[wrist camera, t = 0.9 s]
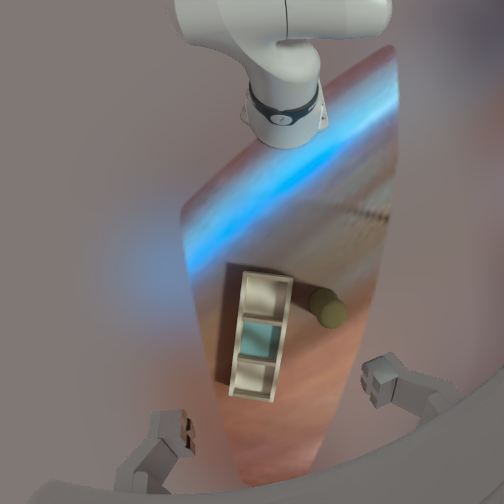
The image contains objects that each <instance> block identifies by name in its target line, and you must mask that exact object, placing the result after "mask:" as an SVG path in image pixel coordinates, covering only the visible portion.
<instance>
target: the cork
mask: <svg viewBox="0 0 504 504" xmlns="http://www.w3.org/2000/svg"><path fill="white" fill-rule="evenodd" d="M309 308H310V310H311V312H312V313H313V314H314V315H315V316H316V317H317V319H318V322H319V323H320V324H321V325H322V326H324V327H325V328H330V329H332V328H337V327H339V326H340V325H341V324H343V322H344V321H345V319H346V316H347V309H346V306H345V304H344V303H343V302H342V301H341V300H339V299H338V297H337V295H336V294H335V292H334V291H332V290H331V289H327V288H320V289H318V290H316V291H315V292H314V293H313V294H312V295H311V297H310V299H309Z"/></svg>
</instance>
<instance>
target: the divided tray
mask: <svg viewBox="0 0 504 504" xmlns="http://www.w3.org/2000/svg"><path fill="white" fill-rule="evenodd" d="M292 286H293V276H285V275H277V274H269V273H261V272H254V271H244V272H243V278H242V286H241V295H240V303H239V311H238V320H237V328H236V337H235V345H234V354H233V362H232V371H231V380H230V388H229V396H233V397H239V398H245V399H251V400H258V401H265V402H273V401H274V395H275V390H276V385H277V379H278V374H279V368H280V363H281V357H282V351H283V345H284V339H285V333H286V326H287V320H288V313H289V307H290V300H291V293H292Z"/></svg>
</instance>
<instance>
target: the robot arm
mask: <svg viewBox="0 0 504 504" xmlns="http://www.w3.org/2000/svg"><path fill="white" fill-rule="evenodd" d="M166 15H167V19H168V22H169V25H170V27H171V28H172V30H173V31H174V32H175V34H176V35H177V36H178V37H179V38H181V39H182V40H183V41H185V42H187V43H188V44H190V45H194V46H201V47H206V48H210V49H214V50H217V51H220V52H222V53H224V54H226V55H228V56H230V57H232V58H234V59H235V60H237V61H238V62H239V63H241V64H242V65H243V66H244V67H245V69H246V72H247V74H248V77H249V89H247V91H246V95H247V96H248V97H247V99H245V104H244V106H243V109H242V111H241V114H240V117H241V120H242V121H243V122H245V123H246V124H248V125H249V126H250V127H251V128H252V130H253V132H254V133H255V135H256V136H257V137H258V138H259V139H260V140H261V141H262V142H264V143H265V144H267V145H269V146H271V147H275V148H279V149H292V148H296V147H299V146H302V145H304V144H305V143H307V142H308V141H309V140H310V139H311V138H312V137H313V136H314V135H315V134H316V133H317V132H320V131H322V130H325V129H326V128H327V127H328V124H329V122H328V117H327V112H326V107H325V102H324V97H323V93H322V88H321V84H320V80H319V71H320V58H319V55H318V53H317V51H316V50H315V48H314V47H313V46H312V45H311V44H310V43H309V42H308V41H307V40H306V39H336V40H344V39H356V38H367V37H376V36H378V35H379V34H380V33H382V32H383V31H384V29H385V28H386V27H387V25H388V23H389V22H390V19H391V15H392V2H391V0H167V4H166ZM322 118H323V120H322ZM362 371H363V374H362V375H361V385H362V387H363V390H364V391H365V393H366V394H369V395H370V401H371V402H372V404H373V405H374V407H375V408H376V409H377V408H379V407H382V406H384V405H386V404H389V403H391V402H392V403H393V404H394V405H396V406H398V407H401V408H403V409H405V410H407V411H409V412H411V413H413V414H415V415H417V416H419V417H420V419H419V422H418V424H417V427H416V428H417V429H416V430H414V431H412V432H410V433H408V434H407V435H404V436H403V437H401V438H399V439H397V440H395V441H393V442H391V443H389V444H387V445H385V446H383V447H381V448H378V449H376V450H374V451H372V452H369V453H367V454H365V455H362V456H360V457H358V458H355V459H353V460H350V461H347V462H345V463H342V464H339V465H336V466H334V467H331V468H328V469H325V470H322V471H318V472H315V473H312V474H309V475H305V476H301V477H298V478H294V479H290V480H286V481H282V482H277V483H273V484H268V485H263V486H258V487H252V488H246V489H239V490H232V491H223V492H214V493H201V494H174V495H173V494H171V493H170V492H169V491H168V490H167V489H166V488H164V487H163V486H162V484H163V482H164V481H165V479H166V477H167V476H168V474H169V473H170V471H171V470H172V468H173V467H174V465H175V464H176V462H177V460H178V458H184V457H193V456H195V455H196V454H195V444H194V442H193V440H194V438H195V430H194V425H193V423H192V421H191V419H189V418H187V413H186V411H185V410H184V409H181V410H170V411H159V412H152V414H151V417H150V423H149V430H148V437H147V439H144V440H143V442H142V443H141V444H140V445H139V446H138V447H137V448H136V449H135V450H134V452H132V454H131V455H130V456H129V457H128V458H127V459H126V460H125V461H124V462H123V463H122V464H121V465H120V467H119V468H118V469H117V470H116V476H115V483H114V489H113V491H110V490H103V489H97V488H91V487H86V486H81V485H76V484H72V483H68V482H63V481H60V480H55V479H52V480H49V481H48V482H46V483H45V484H43V485H42V486H41V487H39V488H38V489H37V490H35V491H34V492H33V493H32V495H31V496H30V498H29V500H28V503H27V504H504V365H503V366H502V367H501V368H500V369H499V370H498V371H497V372H496V373H494V374H493V375H492V376H491V377H490V378H489V379H487V380H486V381H485V382H484V383H483V384H482V385H480V386H479V387H478V388H476V389H475V390H474V391H473V392H471V393H470V394H469V395H467V396H466V397H465V396H464V395H463V394H462V393H461V392H460V390H459V389H458V388H457V387H456V386H455V385H454V384H453V383H452V382H450V381H447V380H443V379H440V378H436V377H433V376H429V375H425V374H422V373H419V372H416V371H409V370H408V369H407V368H406V367H405V366H404V365H403V364H402V362H401V361H400V360H399V359H398V358H397V357H396V356H395V354H394V353H393V352H389V353H387V354H384V355H382V356H379V357H377V358H375V359H372V360H370V361H368V362H365V363H363V364H362Z"/></svg>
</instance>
